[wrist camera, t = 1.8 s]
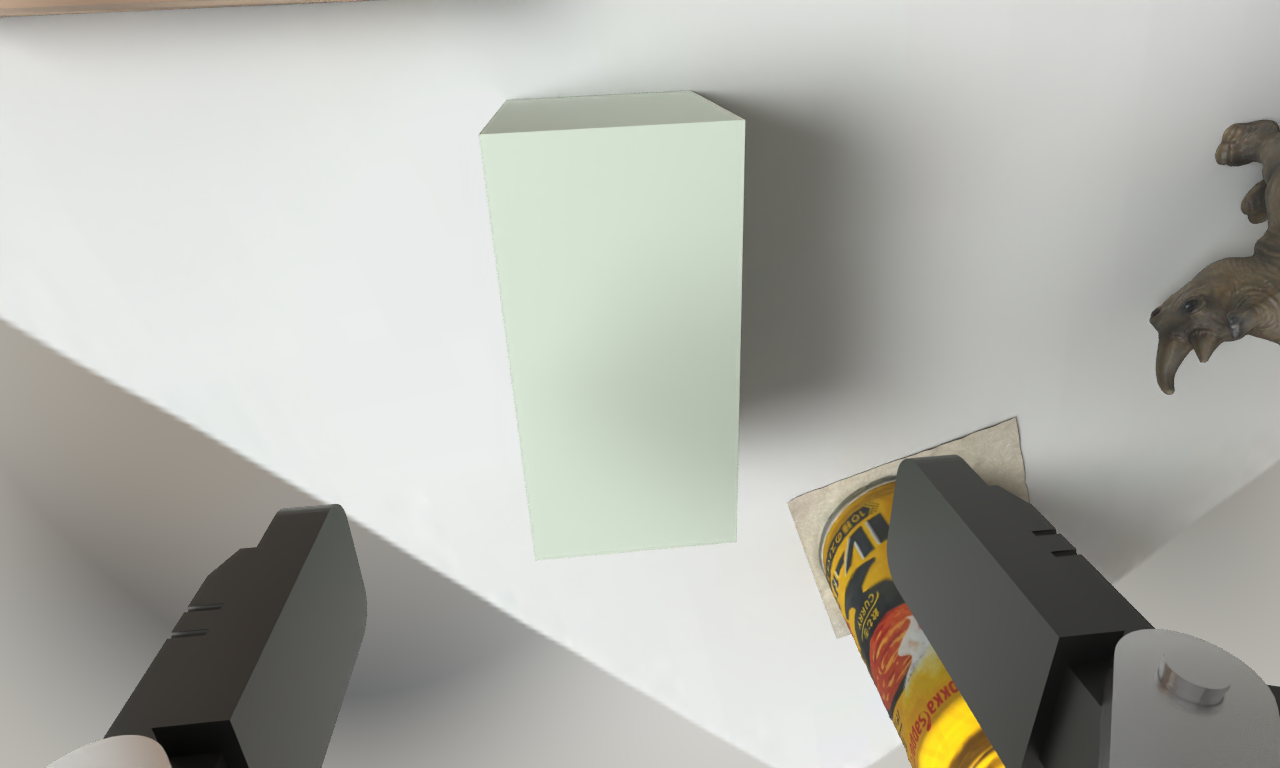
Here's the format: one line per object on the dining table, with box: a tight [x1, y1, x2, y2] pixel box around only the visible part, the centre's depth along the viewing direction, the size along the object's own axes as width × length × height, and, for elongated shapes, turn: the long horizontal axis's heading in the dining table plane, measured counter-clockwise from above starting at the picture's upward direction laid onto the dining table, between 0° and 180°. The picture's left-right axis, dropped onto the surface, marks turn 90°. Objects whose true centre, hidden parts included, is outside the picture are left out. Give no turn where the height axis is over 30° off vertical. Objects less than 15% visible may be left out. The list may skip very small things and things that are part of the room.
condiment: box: [787, 418, 1030, 768], centre depth 22 cm, size 7×8×12 cm
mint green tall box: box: [479, 90, 745, 560], centre depth 19 cm, size 5×11×7 cm, turn 3°
